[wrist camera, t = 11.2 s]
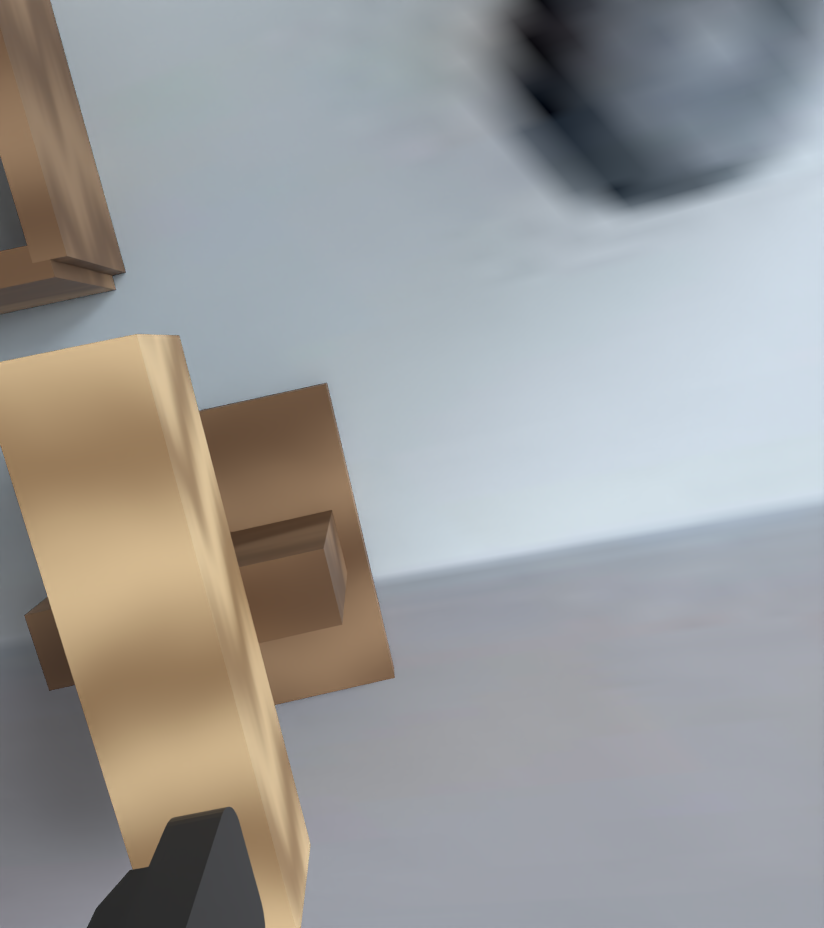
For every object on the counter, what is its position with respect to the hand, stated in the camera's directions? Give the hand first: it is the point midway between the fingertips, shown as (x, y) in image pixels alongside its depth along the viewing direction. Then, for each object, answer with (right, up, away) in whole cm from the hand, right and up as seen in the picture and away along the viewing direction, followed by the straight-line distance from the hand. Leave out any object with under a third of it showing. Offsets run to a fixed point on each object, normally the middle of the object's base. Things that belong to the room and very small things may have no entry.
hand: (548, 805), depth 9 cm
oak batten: (-10, -1, +17) cm, 20 cm away
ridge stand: (-10, 0, +24) cm, 26 cm away
